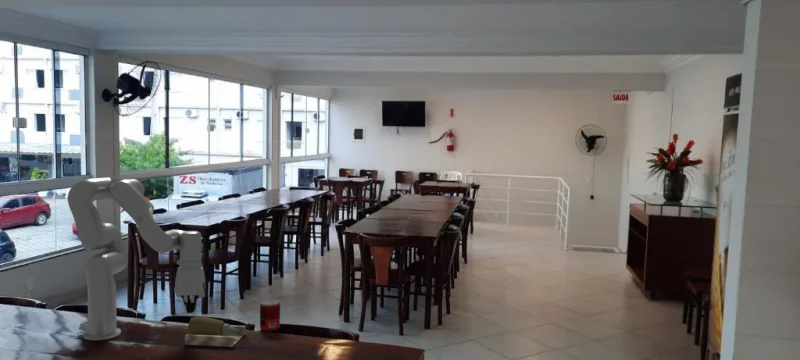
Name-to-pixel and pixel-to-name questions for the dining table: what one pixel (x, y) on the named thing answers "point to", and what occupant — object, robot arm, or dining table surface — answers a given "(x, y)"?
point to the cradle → (216, 338)
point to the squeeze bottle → (209, 327)
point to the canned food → (269, 315)
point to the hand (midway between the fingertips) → (190, 312)
